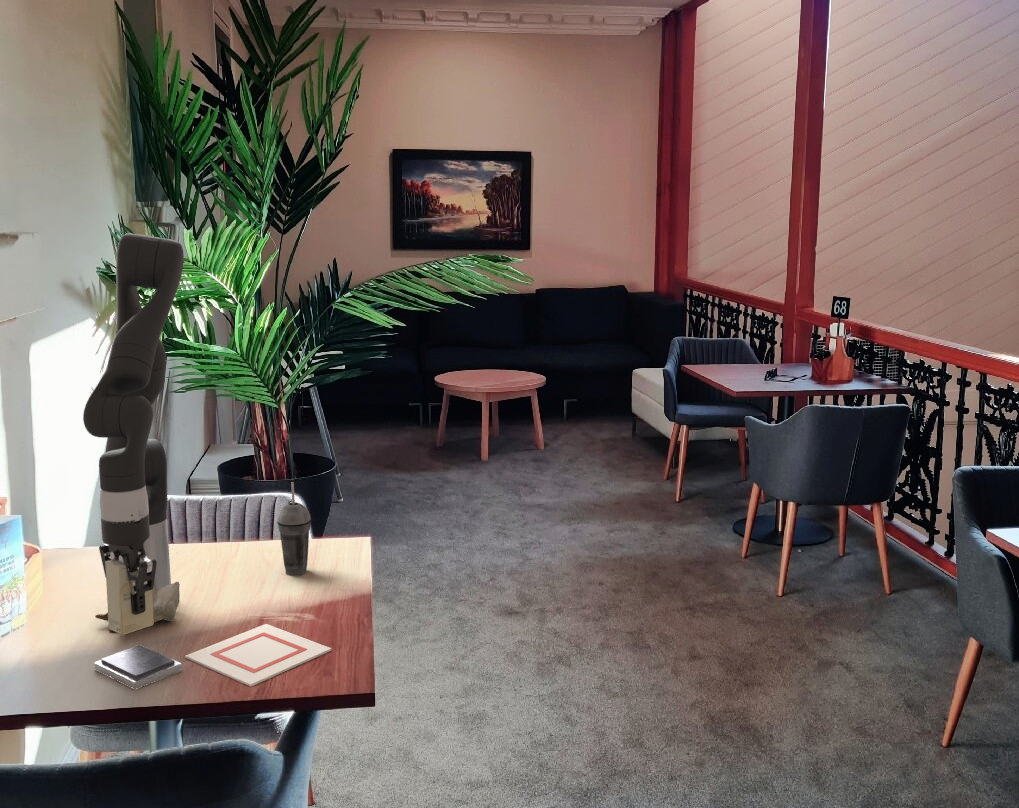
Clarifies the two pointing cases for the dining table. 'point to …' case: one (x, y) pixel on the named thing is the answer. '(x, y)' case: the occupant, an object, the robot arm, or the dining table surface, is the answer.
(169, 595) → the ceramic sculpture
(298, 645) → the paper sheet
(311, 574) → the dining table surface
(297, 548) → the beverage cup
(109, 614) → the skincare box
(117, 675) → the ink pad
